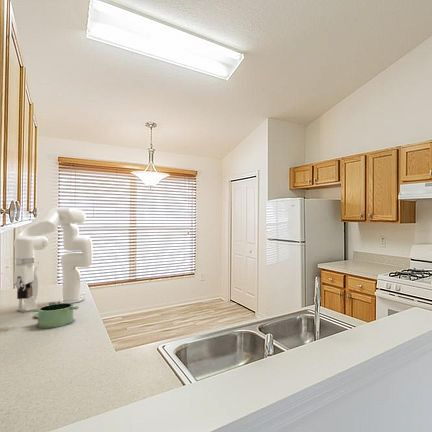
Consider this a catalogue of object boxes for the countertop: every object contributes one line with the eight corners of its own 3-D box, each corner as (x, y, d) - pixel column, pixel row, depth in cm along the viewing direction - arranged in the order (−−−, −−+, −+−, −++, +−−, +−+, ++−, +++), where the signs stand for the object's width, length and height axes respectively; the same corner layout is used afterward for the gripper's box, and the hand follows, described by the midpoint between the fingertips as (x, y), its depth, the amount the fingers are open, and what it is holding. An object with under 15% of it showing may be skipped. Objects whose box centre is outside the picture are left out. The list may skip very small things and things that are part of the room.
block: (22, 296, 164) (22, 287, 164) (32, 296, 165) (32, 287, 165) (17, 299, 159) (17, 289, 159) (27, 298, 161) (27, 289, 160)
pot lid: (42, 311, 185) (42, 300, 185) (73, 309, 189) (73, 298, 189) (28, 320, 170) (28, 307, 170) (62, 317, 174) (62, 305, 174)
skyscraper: (34, 306, 195) (34, 261, 195) (41, 308, 191) (41, 262, 191) (17, 310, 187) (18, 263, 187) (24, 312, 183) (24, 264, 183)
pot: (40, 320, 170) (40, 304, 170) (82, 317, 175) (82, 301, 175) (25, 329, 156) (25, 312, 156) (72, 326, 161) (72, 309, 161)
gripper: (25, 259, 169) (25, 293, 169) (6, 264, 153) (6, 302, 153) (41, 258, 171) (41, 292, 171) (24, 263, 155) (24, 301, 155)
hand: (25, 296), depth 162 cm, fingers closed on block, 4 cm apart
